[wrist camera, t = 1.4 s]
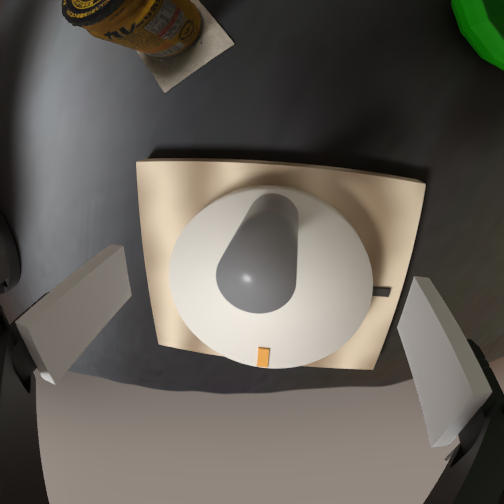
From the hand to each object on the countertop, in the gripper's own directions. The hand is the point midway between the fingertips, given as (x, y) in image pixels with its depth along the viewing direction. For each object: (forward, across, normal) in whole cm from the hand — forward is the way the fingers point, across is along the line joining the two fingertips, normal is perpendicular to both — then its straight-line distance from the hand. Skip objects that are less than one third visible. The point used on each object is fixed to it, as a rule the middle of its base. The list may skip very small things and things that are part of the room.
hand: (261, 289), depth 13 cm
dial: (+12, 0, -6) cm, 13 cm away
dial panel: (+14, 0, -6) cm, 15 cm away
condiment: (+14, -10, +15) cm, 23 cm away
